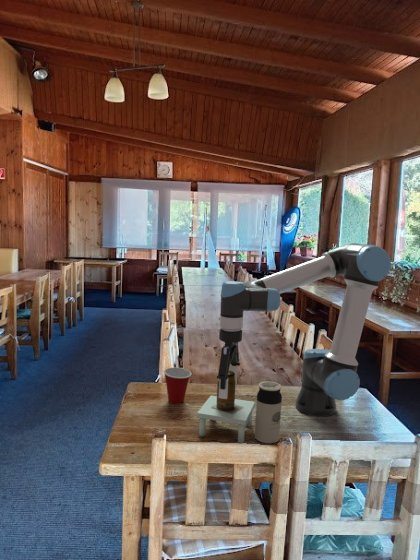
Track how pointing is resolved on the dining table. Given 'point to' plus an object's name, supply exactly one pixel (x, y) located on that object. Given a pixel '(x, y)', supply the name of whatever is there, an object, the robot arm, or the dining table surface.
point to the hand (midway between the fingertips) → (227, 390)
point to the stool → (226, 415)
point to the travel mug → (268, 412)
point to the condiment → (228, 396)
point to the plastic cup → (176, 383)
